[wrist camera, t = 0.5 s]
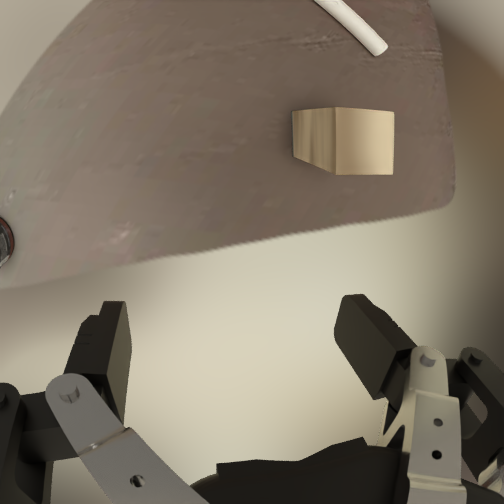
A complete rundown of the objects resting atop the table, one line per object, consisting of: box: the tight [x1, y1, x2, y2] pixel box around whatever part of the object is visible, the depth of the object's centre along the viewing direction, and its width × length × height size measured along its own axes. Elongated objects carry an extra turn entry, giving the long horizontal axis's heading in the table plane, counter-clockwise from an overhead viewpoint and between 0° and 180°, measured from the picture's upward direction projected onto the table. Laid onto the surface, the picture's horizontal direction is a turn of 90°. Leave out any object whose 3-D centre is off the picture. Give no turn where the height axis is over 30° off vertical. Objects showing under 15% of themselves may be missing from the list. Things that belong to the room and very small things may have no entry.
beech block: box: [291, 107, 394, 175], centre depth 24 cm, size 4×4×11 cm
